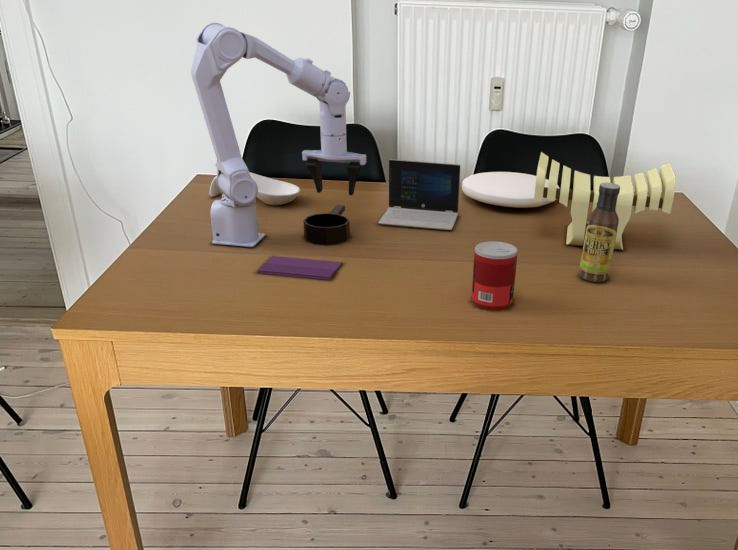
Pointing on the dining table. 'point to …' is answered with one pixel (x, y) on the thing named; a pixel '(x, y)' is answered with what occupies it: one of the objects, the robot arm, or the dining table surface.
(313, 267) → the rag
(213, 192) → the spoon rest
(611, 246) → the sauce bottle
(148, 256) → the dining table surface
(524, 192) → the plate
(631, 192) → the slatted curved stool
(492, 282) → the canned food
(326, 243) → the pan
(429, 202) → the laptop
